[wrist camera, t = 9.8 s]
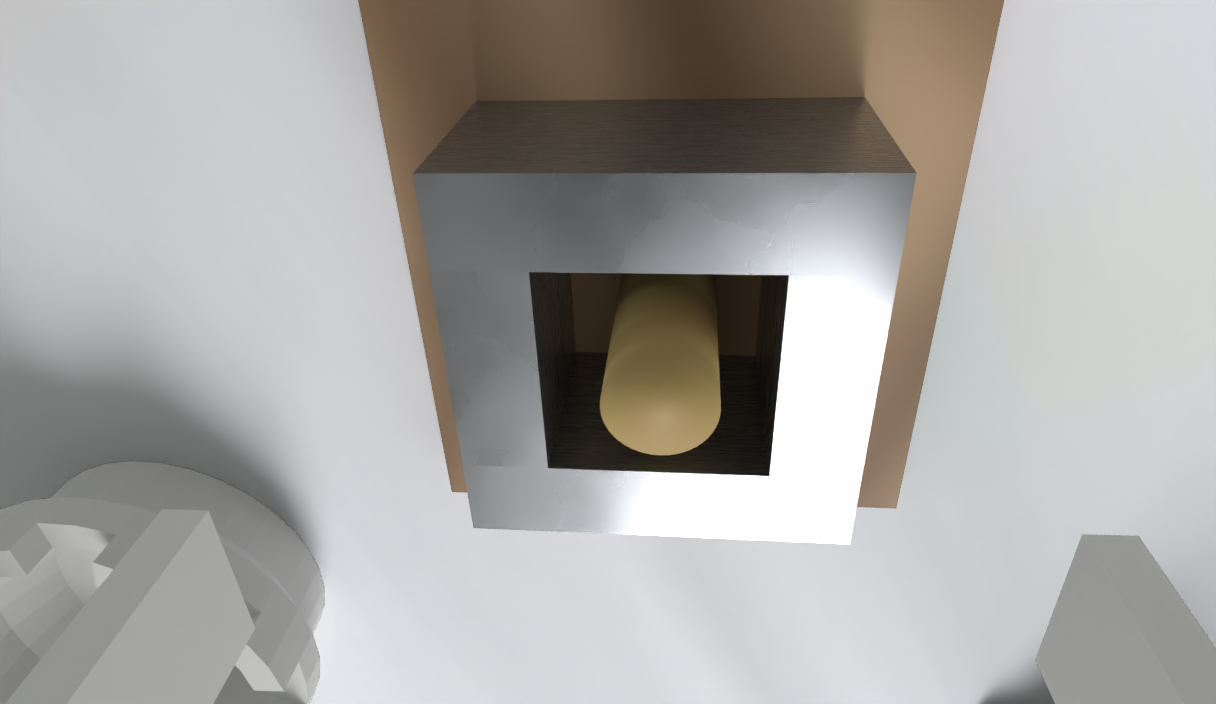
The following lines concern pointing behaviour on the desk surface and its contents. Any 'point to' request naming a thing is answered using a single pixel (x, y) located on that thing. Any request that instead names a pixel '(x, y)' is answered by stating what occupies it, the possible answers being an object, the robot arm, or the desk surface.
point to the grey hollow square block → (666, 244)
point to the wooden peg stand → (696, 69)
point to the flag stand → (106, 530)
